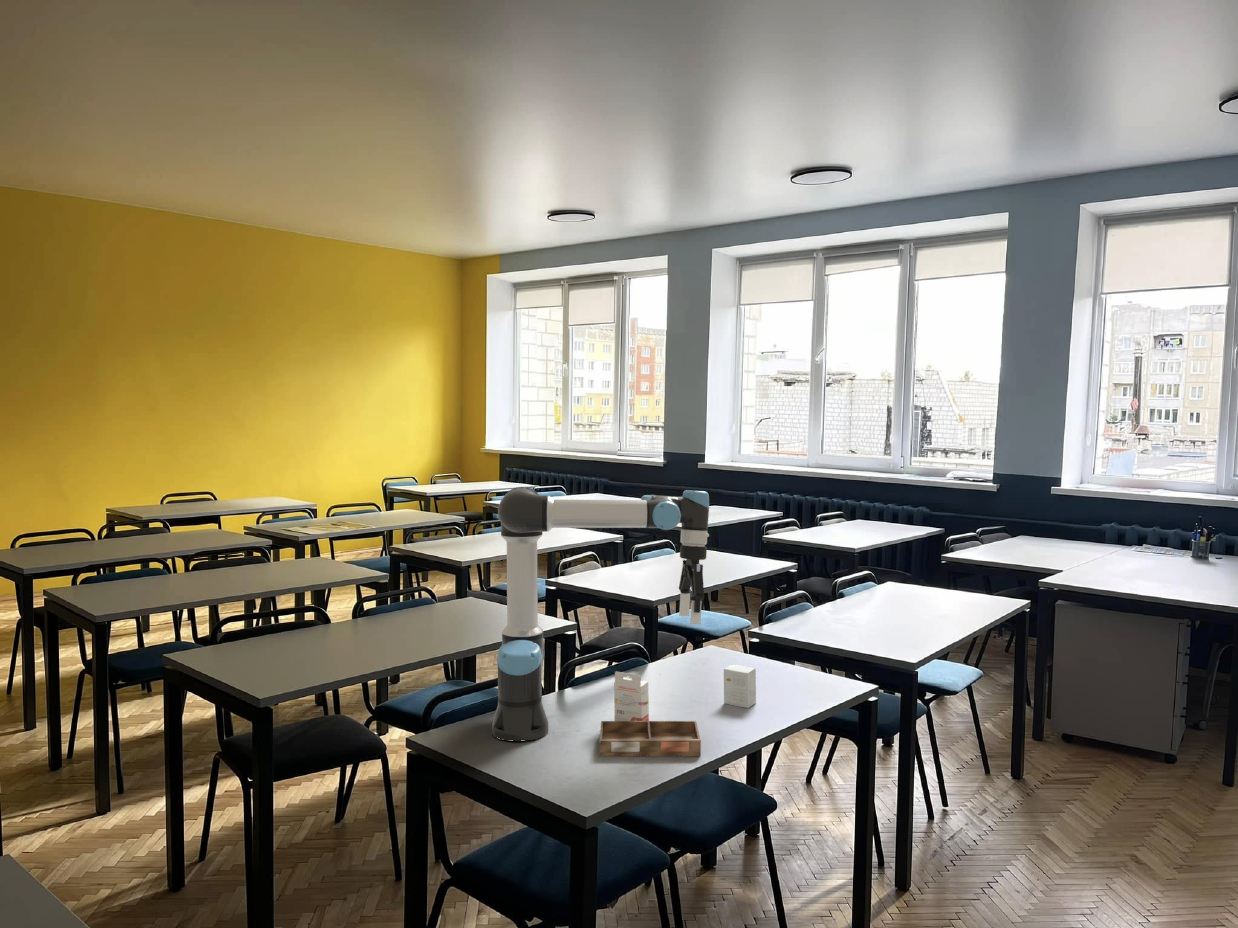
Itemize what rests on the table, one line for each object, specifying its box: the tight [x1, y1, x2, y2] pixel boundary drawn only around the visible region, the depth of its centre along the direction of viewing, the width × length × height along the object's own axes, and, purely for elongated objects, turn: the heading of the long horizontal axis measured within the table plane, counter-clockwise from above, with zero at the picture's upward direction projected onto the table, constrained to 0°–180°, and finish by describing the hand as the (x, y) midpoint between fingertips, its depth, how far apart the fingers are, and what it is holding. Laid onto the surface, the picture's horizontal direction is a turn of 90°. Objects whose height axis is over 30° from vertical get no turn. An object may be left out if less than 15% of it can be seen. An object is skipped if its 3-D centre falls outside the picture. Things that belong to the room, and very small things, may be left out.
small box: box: [723, 664, 757, 709], centre depth 247 cm, size 8×6×10 cm
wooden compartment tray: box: [599, 720, 702, 757], centre depth 215 cm, size 25×14×4 cm, turn 90°
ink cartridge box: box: [613, 670, 650, 721], centre depth 231 cm, size 9×5×15 cm, turn 62°
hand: (689, 619), depth 237 cm, fingers open, 13 cm apart
